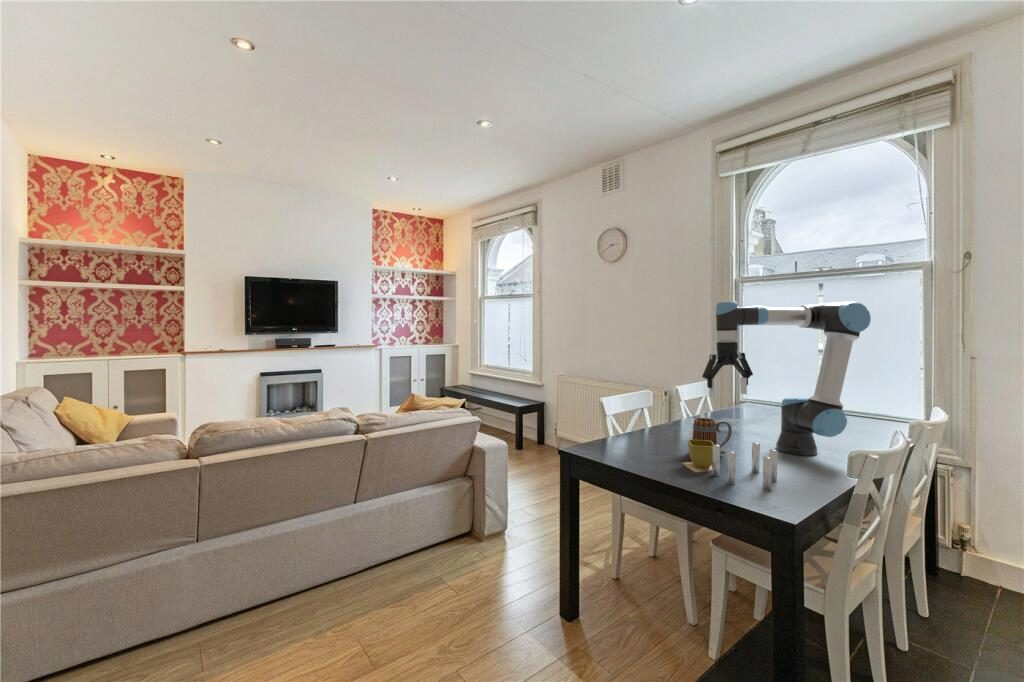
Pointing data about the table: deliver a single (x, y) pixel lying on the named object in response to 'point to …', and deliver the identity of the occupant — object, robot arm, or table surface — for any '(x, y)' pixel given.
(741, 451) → the table surface
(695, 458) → the flower pot
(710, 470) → the cork mat
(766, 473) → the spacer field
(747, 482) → the table surface
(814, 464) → the table surface
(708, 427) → the mug
